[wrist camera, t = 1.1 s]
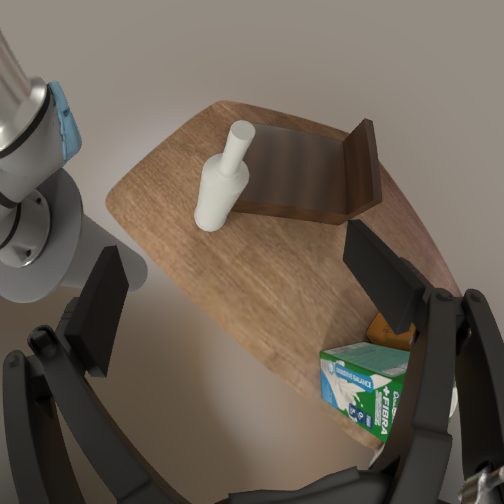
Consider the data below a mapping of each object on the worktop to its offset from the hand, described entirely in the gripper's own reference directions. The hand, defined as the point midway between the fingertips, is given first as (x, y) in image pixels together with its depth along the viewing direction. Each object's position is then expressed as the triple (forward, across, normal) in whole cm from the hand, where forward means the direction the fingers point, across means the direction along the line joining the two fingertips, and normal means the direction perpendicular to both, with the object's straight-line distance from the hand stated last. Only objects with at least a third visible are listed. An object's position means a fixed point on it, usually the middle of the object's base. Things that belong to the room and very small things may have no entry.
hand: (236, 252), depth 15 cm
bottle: (+29, -2, -11) cm, 31 cm away
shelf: (+34, +12, -7) cm, 37 cm away
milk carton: (+12, +18, -34) cm, 41 cm away
